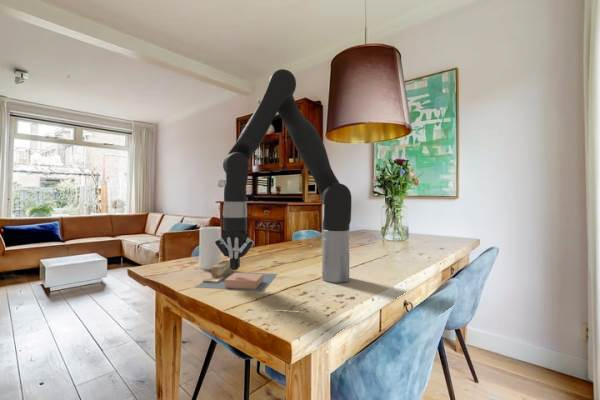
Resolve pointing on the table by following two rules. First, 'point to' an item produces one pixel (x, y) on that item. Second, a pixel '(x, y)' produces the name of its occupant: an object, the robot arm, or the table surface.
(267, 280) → the mat
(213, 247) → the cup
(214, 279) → the beige pillar on base
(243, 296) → the table surface
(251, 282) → the tile
